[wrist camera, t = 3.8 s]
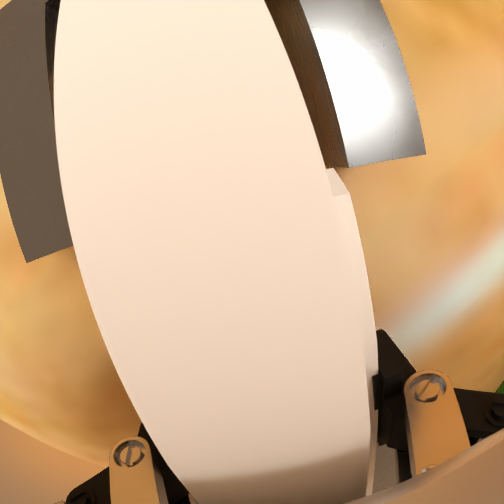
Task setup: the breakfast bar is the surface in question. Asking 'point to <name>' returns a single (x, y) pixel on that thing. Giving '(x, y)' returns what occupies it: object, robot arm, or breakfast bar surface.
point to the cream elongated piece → (217, 248)
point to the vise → (307, 74)
